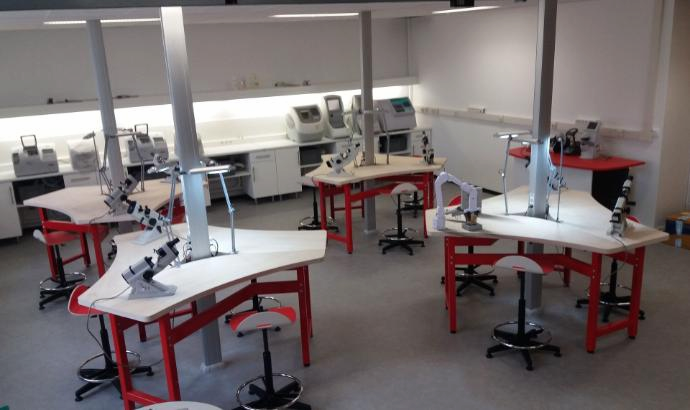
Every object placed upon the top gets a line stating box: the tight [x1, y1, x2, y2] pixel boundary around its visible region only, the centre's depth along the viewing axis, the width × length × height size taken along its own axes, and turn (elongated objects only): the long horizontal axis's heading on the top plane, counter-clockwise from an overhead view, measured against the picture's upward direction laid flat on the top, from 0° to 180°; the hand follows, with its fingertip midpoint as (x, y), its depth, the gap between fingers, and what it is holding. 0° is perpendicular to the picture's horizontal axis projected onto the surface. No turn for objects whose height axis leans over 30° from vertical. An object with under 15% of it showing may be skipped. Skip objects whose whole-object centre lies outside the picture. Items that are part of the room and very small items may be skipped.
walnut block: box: [466, 214, 478, 224], centre depth 441 cm, size 5×5×6 cm
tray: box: [461, 222, 483, 232], centre depth 442 cm, size 12×10×4 cm
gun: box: [435, 204, 468, 223], centre depth 467 cm, size 5×27×15 cm, turn 62°
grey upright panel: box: [460, 184, 483, 215], centre depth 482 cm, size 17×5×25 cm, turn 91°
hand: (472, 220), depth 441 cm, fingers closed on walnut block, 5 cm apart
